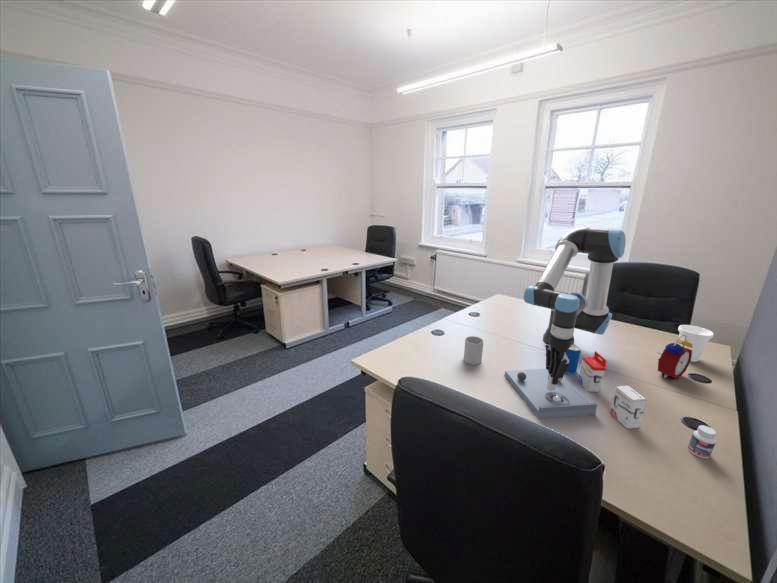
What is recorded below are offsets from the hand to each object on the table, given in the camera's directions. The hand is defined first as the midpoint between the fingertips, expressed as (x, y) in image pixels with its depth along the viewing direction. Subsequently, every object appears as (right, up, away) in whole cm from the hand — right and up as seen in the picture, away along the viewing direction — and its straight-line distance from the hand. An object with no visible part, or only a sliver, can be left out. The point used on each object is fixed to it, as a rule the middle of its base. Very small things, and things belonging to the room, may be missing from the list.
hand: (550, 389), depth 127 cm
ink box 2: (+20, -1, +9) cm, 22 cm away
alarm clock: (+62, +1, +18) cm, 64 cm away
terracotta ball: (+7, +3, +8) cm, 11 cm away
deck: (0, -3, +4) cm, 5 cm away
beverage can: (+18, +2, +20) cm, 27 cm away
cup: (+83, +6, +32) cm, 89 cm away
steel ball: (0, -3, -3) cm, 5 cm away
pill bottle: (+34, -13, -25) cm, 44 cm away
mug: (-23, +6, +30) cm, 39 cm away
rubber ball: (-8, +3, +8) cm, 12 cm away
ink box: (+21, -8, -11) cm, 25 cm away
